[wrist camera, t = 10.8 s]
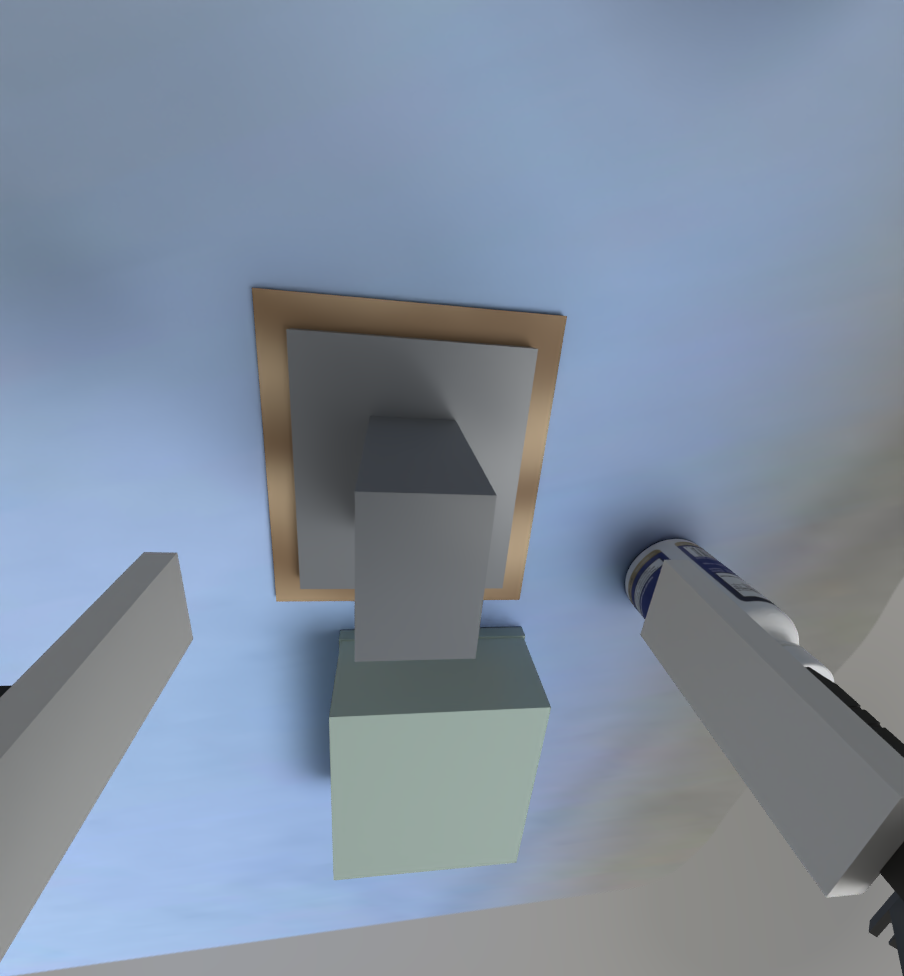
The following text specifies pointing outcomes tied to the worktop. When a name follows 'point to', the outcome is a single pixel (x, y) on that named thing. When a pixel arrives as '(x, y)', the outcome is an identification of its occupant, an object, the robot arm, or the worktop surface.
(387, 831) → the sage green block
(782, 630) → the pill bottle
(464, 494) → the lid
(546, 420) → the plate
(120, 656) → the robot arm
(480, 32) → the worktop surface
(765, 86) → the worktop surface
